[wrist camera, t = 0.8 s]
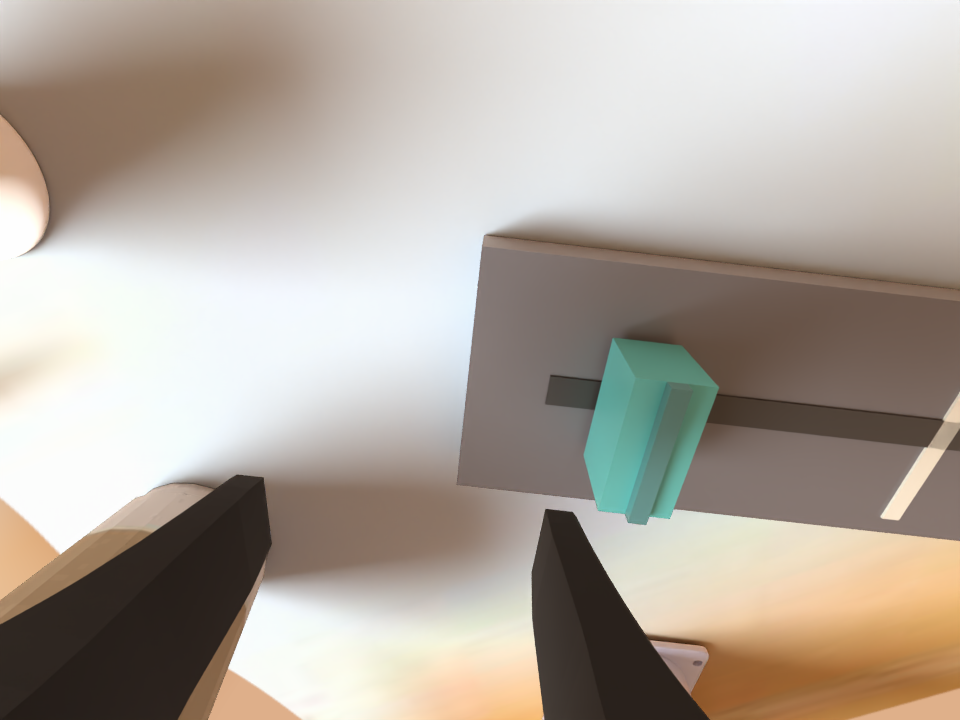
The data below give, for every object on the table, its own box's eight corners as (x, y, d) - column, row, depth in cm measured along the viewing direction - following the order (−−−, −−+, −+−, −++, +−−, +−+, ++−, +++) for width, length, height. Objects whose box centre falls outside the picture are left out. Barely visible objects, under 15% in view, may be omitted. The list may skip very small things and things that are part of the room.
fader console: (975, 513, 21) (1021, 549, 19) (460, 455, 21) (456, 486, 19) (1128, 309, 17) (1207, 330, 15) (484, 235, 17) (481, 246, 15)
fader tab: (644, 462, 18) (673, 528, 15) (583, 455, 18) (600, 519, 15) (682, 345, 16) (725, 394, 13) (612, 337, 16) (639, 384, 13)
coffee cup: (113, 594, 26) (-295, 1069, 13) (65, 430, 22) (-672, 918, 8) (311, 620, 27) (116, 1114, 13) (308, 464, 22) (-7, 994, 8)
